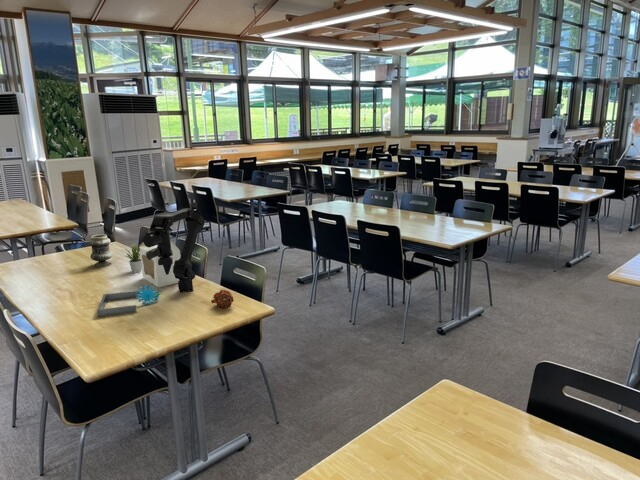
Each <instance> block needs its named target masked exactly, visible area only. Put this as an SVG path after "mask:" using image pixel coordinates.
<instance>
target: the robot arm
mask: <svg viewBox="0 0 640 480" xmlns="http://www.w3.org/2000/svg"><path fill="white" fill-rule="evenodd" d="M181 220H184V221H185V223H186V228H187V229H186V230H187V234H186V237H185V239H184V240H185V241H184V244H183V247H182V250H181V253H180V259H179V260H175V263H174V266H173V273H174V276H175V278H176V279H179V281H178V283H177V285H178V286H177V287H178V291H179V293H187V292H194V286H193V280H195V278H196V272H195V271H194V270H193V269H192V268H193V265H192V262H191V259H192V256H193V252H194V248H195V245H196V241H197V237H198V235H199V233H200V232H201V231H202V230H203V228H204V226H205V223H206V220H205V218H204V217H203V216H202V215H201V214H199V212H196V211H195V210H194V209H192V208H189V207H187V208H185V207H184V208H182V209H179V210H177V211H174V212H171V213H169V214H158V215H154V217H153V219H152V222H151V225H150V227H149V230H148V231H146V232H145V235H144V236H143V237H142V243H144V245H145V246H146V247H153V246H156V245H157V248H154V249H152V250H149V251H147V252H146V256H147V258H148V260H151V259H152V258H154V257H156V256H158V257H160V258H159V259H158V265H163V267H164V270H165V273H166V275H168V274H169V271H170V268H171V265H172V264H173V258H172V257H170V256H173V253H172V250H171V242H170V240H171V233H170V232H173V228H171V227H172V226H173V225H174V224H175V223H176V222H179V221H181Z"/></svg>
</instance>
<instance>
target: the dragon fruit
mask: <svg viewBox="0 0 640 480" xmlns="http://www.w3.org/2000/svg"><path fill="white" fill-rule="evenodd" d="M211 298H212V299H211V300H210V303H211V304H216V307H217V308H219V307H220V308H222V309H226V308H225V307H227V308H228V307H231V306H232V304H233V302H234V301H235V300H234V296H233V295H232V293H231V292H230V291H229V290H226V289H220V291H217V292H215V293H214V294H213V297H211Z"/></svg>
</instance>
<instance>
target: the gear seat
mask: <svg viewBox="0 0 640 480" xmlns="http://www.w3.org/2000/svg"><path fill="white" fill-rule="evenodd" d="M137 291H138V290H130V291H122V292H112V293H111V292H110V293H105V294H103V295H102V297H101V299H100V302H99V305H98V308H97V309H96V313H97V314H96V315H97V317H98V318H101V317H109V316H116V315H125V314H133V313H137V312H138V310H137V304H133V305H132V304H131V305H127V306H126V305H124V306H115V307H107V308H106V307H105V306H106V304H107V302H108V301H116V300H124V299H134V298H137V297H136V295H137V294H139V293H137ZM139 295H140V294H139Z"/></svg>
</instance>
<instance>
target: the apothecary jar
mask: <svg viewBox="0 0 640 480" xmlns="http://www.w3.org/2000/svg"><path fill="white" fill-rule="evenodd" d="M110 244H111V239H110V238H108V235H107V234H106V233H105V234H104V233H101V234H94V235H91V237H90V240H89V241H88V245H90V246H91V254H90V255H89V256H90V259H91V260H92V261H95V262H96V263H94V264H93V267H96V268H100V267H101V268H102V267H103V268H104V267H107V266H110V265H112V262H111V261H108V260H110V259H111V258H112V257H113V253H112V251H110V250H111V249H110Z"/></svg>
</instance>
